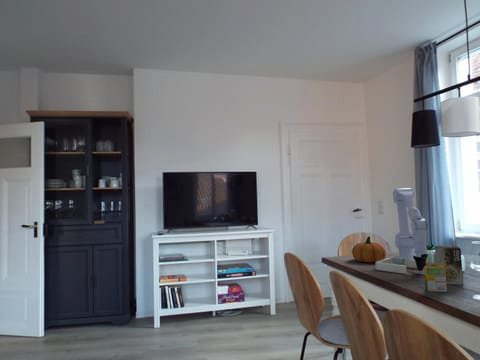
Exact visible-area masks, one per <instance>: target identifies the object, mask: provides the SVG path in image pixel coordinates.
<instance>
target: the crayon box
mask: <svg viewBox="0 0 480 360" xmlns="http://www.w3.org/2000/svg"><path fill="white" fill-rule="evenodd" d="M434 265H435V266H434ZM436 265H440V266H437V267H436ZM423 270H424V272H425V275H424V286H425V290H426V291H427V292H429V291H430V292H436V293H437V292H441V293H442V292H443V293H447V292H448V290H447V289H448V288H447V287H448V286H447V285H448V284H446V272H445V263H436V262H426V264H425V266H424V268H423Z"/></svg>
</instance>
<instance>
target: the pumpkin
mask: <svg viewBox="0 0 480 360" xmlns="http://www.w3.org/2000/svg"><path fill="white" fill-rule="evenodd" d="M351 254H352V255H351V256H353V258H354V259H355V260H356V261H358V262H362V263H367V262H368V264H369V263H370V264H371V263H372V264H373V263H375V262H377V261H381V260H384V259H386V257H387V252H386V250H385V247H383V246H382V245H381V244H379V243H378V242H371V236H367V238H366V241H365V242H363V241H361V242H358V243H356V244H355V245H354V246H353V248H352V250H351Z"/></svg>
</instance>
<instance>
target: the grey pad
mask: <svg viewBox="0 0 480 360" xmlns="http://www.w3.org/2000/svg"><path fill="white" fill-rule="evenodd" d="M413 273H414V274H418V275H424V276H425V272H424V269H423V271H419V270H417V271H414V272H413Z"/></svg>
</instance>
